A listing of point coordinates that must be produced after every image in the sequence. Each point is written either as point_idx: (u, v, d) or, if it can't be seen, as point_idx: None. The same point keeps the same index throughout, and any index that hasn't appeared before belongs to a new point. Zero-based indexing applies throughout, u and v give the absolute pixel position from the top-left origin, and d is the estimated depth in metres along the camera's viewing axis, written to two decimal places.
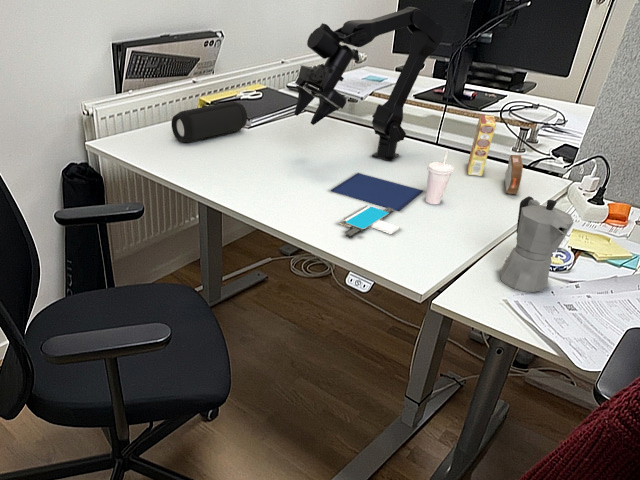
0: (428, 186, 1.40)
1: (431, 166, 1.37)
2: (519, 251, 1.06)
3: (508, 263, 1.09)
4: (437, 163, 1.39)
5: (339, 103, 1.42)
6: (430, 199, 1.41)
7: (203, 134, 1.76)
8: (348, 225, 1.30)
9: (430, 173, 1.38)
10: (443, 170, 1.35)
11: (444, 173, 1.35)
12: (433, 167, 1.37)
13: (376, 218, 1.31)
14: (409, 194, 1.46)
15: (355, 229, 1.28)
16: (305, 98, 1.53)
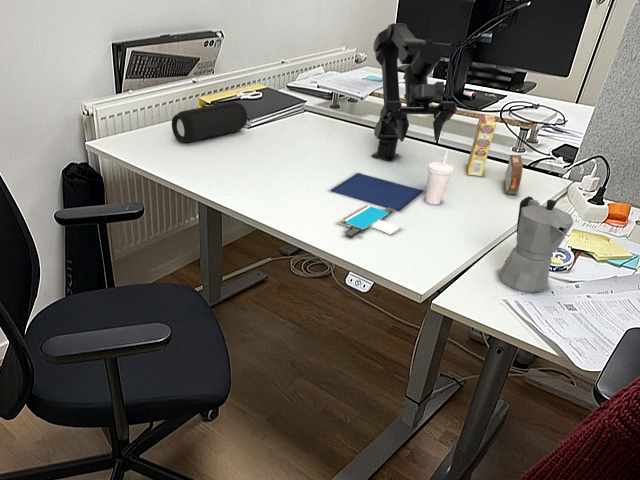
0: (428, 186, 1.40)
1: (431, 166, 1.37)
2: (519, 251, 1.06)
3: (508, 263, 1.09)
4: (437, 163, 1.39)
5: None
6: (430, 199, 1.41)
7: (204, 134, 1.76)
8: (348, 225, 1.30)
9: (430, 173, 1.38)
10: (443, 170, 1.35)
11: (444, 173, 1.35)
12: (433, 167, 1.37)
13: (376, 218, 1.31)
14: (409, 194, 1.46)
15: (355, 229, 1.28)
16: None
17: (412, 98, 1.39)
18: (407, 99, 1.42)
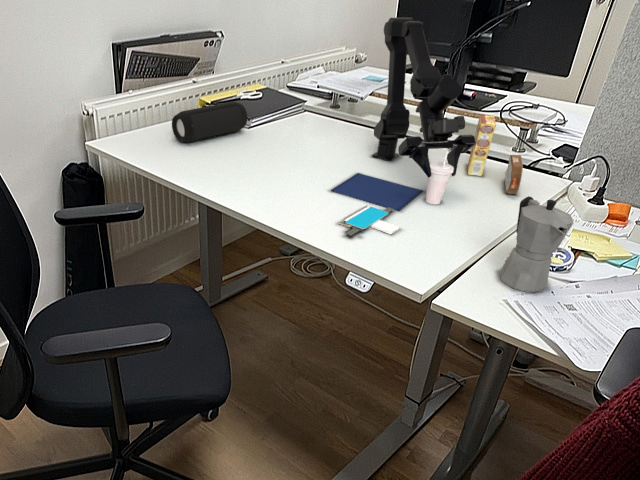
0: (428, 186, 1.40)
1: (431, 166, 1.37)
2: (519, 251, 1.06)
3: (508, 263, 1.09)
4: (437, 163, 1.39)
5: None
6: (430, 199, 1.41)
7: (204, 134, 1.76)
8: (348, 225, 1.30)
9: None
10: (443, 170, 1.35)
11: (444, 173, 1.35)
12: (433, 167, 1.37)
13: (376, 218, 1.31)
14: (409, 194, 1.46)
15: (355, 228, 1.28)
16: None
17: (432, 133, 1.36)
18: (425, 134, 1.39)
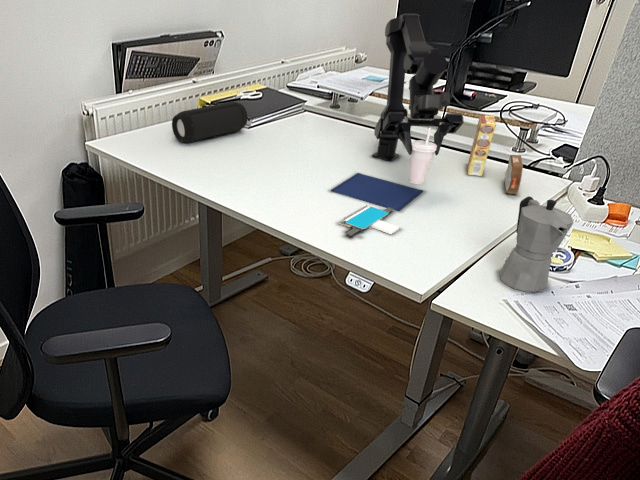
0: (410, 164, 1.37)
1: (413, 143, 1.34)
2: (519, 251, 1.06)
3: (508, 263, 1.09)
4: (421, 141, 1.36)
5: None
6: (412, 178, 1.38)
7: (204, 135, 1.76)
8: (348, 225, 1.30)
9: (412, 151, 1.35)
10: (424, 148, 1.32)
11: (425, 151, 1.32)
12: (415, 144, 1.34)
13: (376, 218, 1.31)
14: (409, 194, 1.46)
15: (355, 229, 1.28)
16: None
17: (416, 109, 1.33)
18: (411, 110, 1.36)
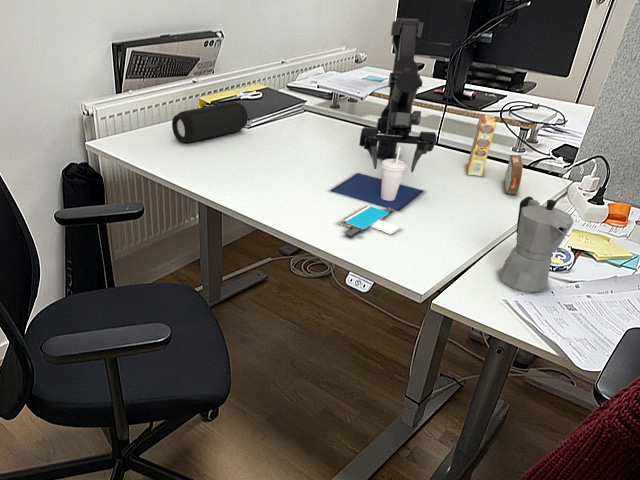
0: None
1: (384, 161, 1.39)
2: (519, 251, 1.06)
3: (508, 263, 1.09)
4: (394, 160, 1.40)
5: None
6: (382, 195, 1.42)
7: (204, 135, 1.76)
8: (348, 225, 1.30)
9: (382, 168, 1.39)
10: (392, 166, 1.36)
11: (392, 169, 1.36)
12: (385, 162, 1.38)
13: (376, 218, 1.31)
14: (409, 194, 1.46)
15: (355, 229, 1.28)
16: None
17: (389, 126, 1.36)
18: (387, 127, 1.39)
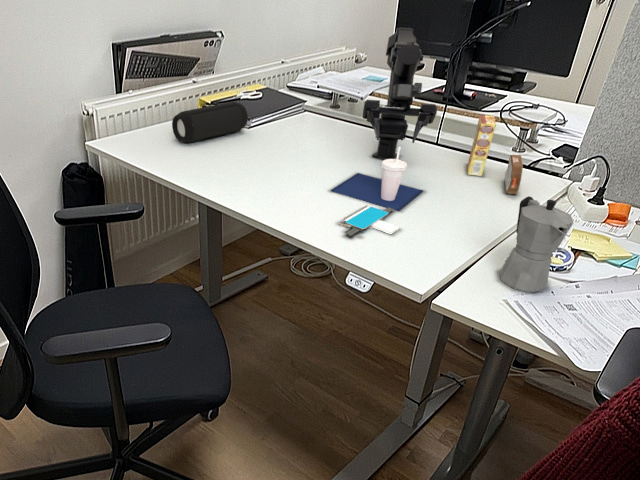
0: None
1: (384, 161, 1.39)
2: (519, 251, 1.06)
3: (508, 263, 1.09)
4: (394, 160, 1.40)
5: (433, 117, 1.43)
6: (382, 195, 1.42)
7: (204, 135, 1.76)
8: (348, 225, 1.30)
9: (382, 168, 1.39)
10: (392, 166, 1.36)
11: (392, 169, 1.36)
12: (385, 162, 1.38)
13: (376, 218, 1.31)
14: (409, 194, 1.46)
15: (355, 229, 1.28)
16: None
17: (391, 98, 1.41)
18: (389, 99, 1.44)
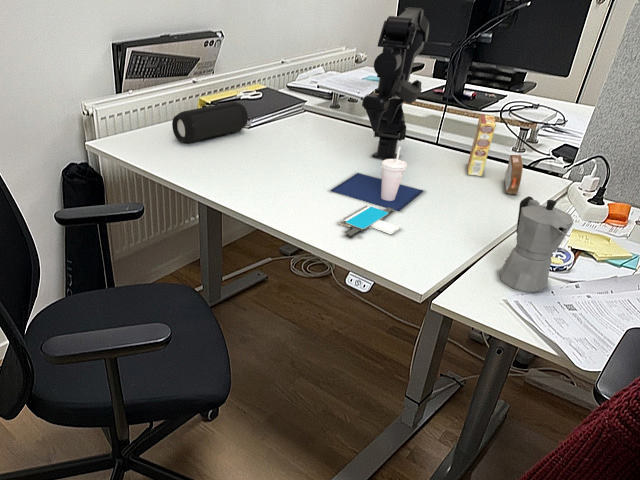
0: None
1: (384, 161, 1.39)
2: (519, 251, 1.06)
3: (508, 263, 1.09)
4: (394, 160, 1.40)
5: None
6: (382, 195, 1.42)
7: (204, 135, 1.76)
8: (348, 225, 1.30)
9: (382, 168, 1.39)
10: (392, 166, 1.36)
11: (392, 169, 1.36)
12: (385, 162, 1.38)
13: (376, 218, 1.31)
14: (409, 194, 1.46)
15: (355, 229, 1.28)
16: None
17: (395, 93, 1.43)
18: (386, 87, 1.44)
